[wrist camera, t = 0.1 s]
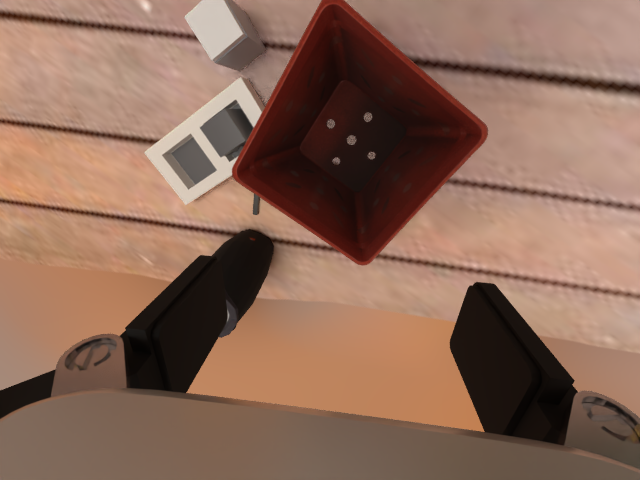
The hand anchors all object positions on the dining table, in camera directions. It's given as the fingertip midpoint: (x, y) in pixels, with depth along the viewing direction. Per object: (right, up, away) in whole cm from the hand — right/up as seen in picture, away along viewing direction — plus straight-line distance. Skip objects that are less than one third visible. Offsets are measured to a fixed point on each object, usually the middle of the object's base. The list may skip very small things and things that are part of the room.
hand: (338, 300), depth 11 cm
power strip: (-15, +15, +36) cm, 42 cm away
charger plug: (-12, +30, +28) cm, 43 cm away
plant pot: (+4, +18, +33) cm, 37 cm away
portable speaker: (-13, +1, +43) cm, 45 cm away
